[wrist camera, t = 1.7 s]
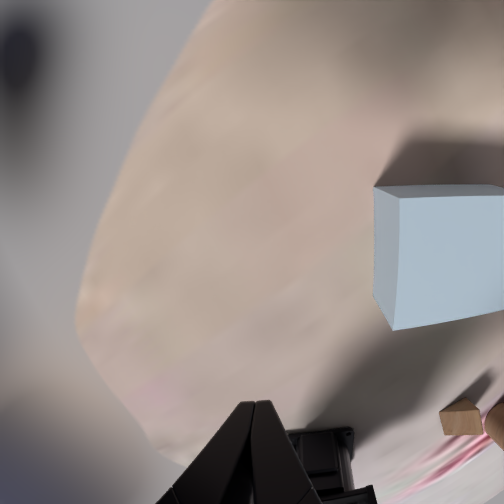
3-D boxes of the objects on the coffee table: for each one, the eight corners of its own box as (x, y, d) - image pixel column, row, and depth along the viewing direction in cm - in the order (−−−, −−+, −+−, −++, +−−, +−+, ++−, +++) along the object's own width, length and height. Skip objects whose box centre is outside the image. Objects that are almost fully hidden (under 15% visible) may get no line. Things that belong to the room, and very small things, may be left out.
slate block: (481, 279, 19) (514, 306, 15) (372, 294, 20) (392, 330, 16) (488, 184, 17) (529, 195, 12) (372, 186, 18) (399, 198, 13)
